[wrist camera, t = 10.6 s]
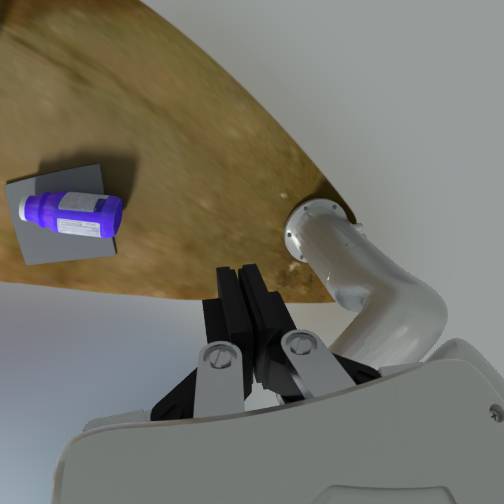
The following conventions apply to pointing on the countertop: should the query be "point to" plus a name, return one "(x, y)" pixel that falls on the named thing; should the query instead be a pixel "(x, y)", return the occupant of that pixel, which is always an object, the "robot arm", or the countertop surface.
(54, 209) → the bottle
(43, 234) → the mat
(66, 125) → the countertop surface
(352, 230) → the robot arm
